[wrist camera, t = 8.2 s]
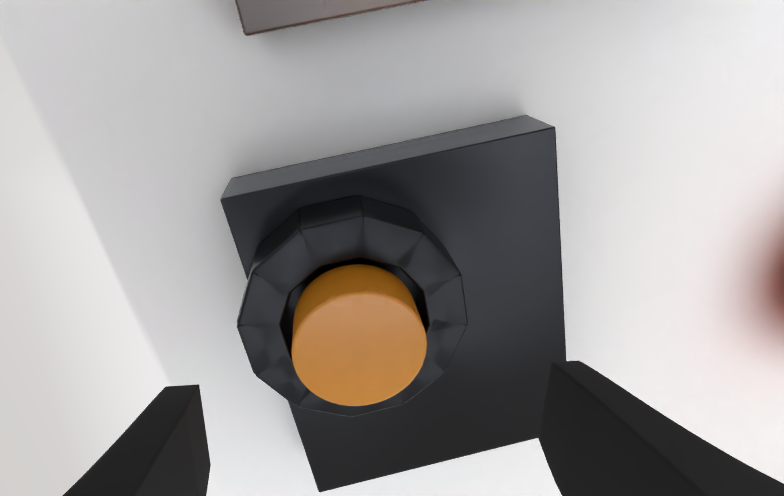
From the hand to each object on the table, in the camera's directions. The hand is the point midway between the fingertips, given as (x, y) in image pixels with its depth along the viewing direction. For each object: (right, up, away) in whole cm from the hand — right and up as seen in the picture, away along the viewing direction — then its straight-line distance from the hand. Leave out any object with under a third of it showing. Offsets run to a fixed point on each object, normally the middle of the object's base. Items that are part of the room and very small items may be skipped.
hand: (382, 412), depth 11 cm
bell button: (-1, +1, +5) cm, 5 cm away
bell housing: (+1, +1, +9) cm, 9 cm away
